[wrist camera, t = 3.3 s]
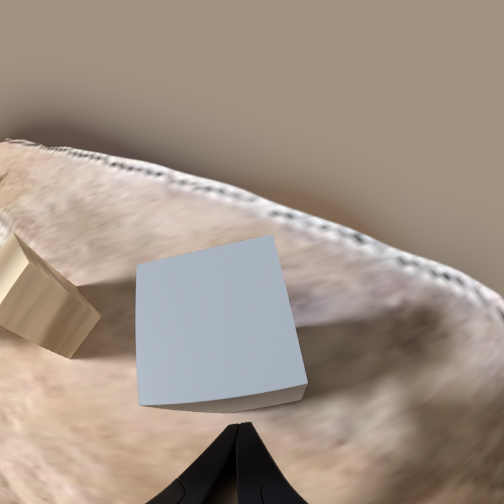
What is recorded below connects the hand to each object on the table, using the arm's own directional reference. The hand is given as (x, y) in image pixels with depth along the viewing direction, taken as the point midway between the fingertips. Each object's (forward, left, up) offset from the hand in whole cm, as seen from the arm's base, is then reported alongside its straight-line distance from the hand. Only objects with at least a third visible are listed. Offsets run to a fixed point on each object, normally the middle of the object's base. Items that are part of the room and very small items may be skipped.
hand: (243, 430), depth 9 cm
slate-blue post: (+3, -2, -8) cm, 9 cm away
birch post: (+16, +9, -8) cm, 20 cm away
